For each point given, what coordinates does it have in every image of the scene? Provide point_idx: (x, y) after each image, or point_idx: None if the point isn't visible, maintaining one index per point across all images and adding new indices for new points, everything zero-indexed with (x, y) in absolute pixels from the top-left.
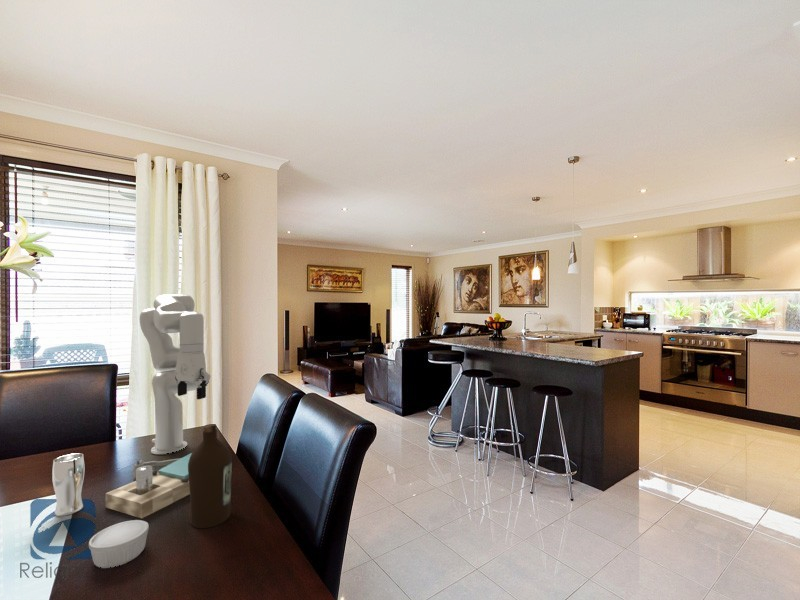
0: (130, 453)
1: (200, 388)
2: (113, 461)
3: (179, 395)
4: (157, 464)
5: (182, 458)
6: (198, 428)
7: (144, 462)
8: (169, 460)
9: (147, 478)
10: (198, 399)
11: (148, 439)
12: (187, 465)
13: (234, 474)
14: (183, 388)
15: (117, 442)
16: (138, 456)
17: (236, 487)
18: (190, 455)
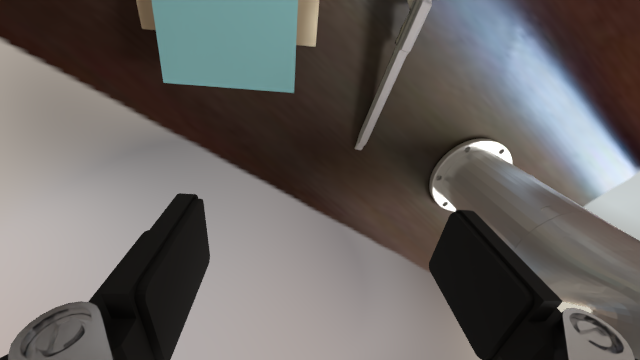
0: (554, 125)
1: (100, 306)
2: (571, 69)
3: (453, 213)
4: (397, 49)
5: (289, 48)
6: None
7: (427, 10)
8: (385, 88)
9: None
10: (182, 196)
11: None
12: (216, 1)
13: (156, 102)
14: (469, 290)
15: (629, 166)
16: (519, 116)
17: (55, 28)
18: (279, 74)
